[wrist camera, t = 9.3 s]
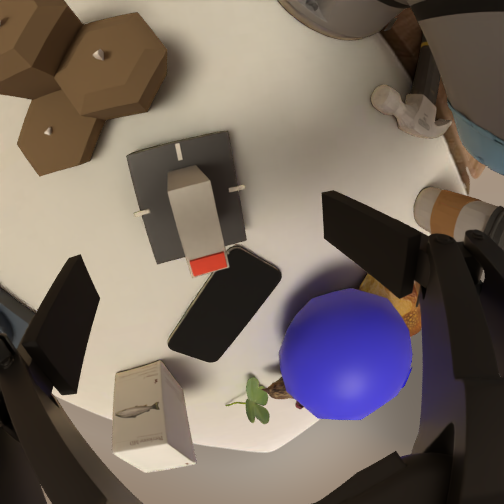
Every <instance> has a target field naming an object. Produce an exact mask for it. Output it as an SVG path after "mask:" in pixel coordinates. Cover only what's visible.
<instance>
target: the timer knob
mask: <svg viewBox="0 0 504 504" xmlns="http://www.w3.org/2000/svg"><path fill="white" fill-rule="evenodd" d="M168 196H169V200H170V203H171V207H172V211H173V215H174V218H175V222H176V226H177V229H178V233H179V236H180V240H181V243H182V247H183V250H184V253H185V257H186V260H187V263H188V267H189V270H190V273H191V276H192V278H194V277H197V276H201V275H204V274H208V273H211V272H215V271H218V270H222V269H225V268H229V263H228V258H227V254H226V250H225V245H224V241H223V237H222V232H221V228H220V223H219V219H218V214H217V209H216V205H215V200H214V195H213V191H212V186H211V181H210V180H209V179H208V178H207V176H206V175H205V174H204V173H203V172H202V171H201V170H200V169H199V168H198V167H197V165H193V166H189V167H185V168H182V169H178V170H174V171H170V172H168Z"/></svg>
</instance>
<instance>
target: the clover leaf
mask: <svg viewBox="0 0 504 504" xmlns="http://www.w3.org/2000/svg"><path fill="white" fill-rule="evenodd" d="M258 385H259V382H258V380H257V379H255V377H253V378H250V379H249V380H248V382H247V386H246V392H247V396H248V398H249V399H247V400H246V403H242V402H234V403H232V404H228V405H225V406H230V405H233V404H236V403H240V404H246V413H247V416H248V419H249V421H250V422H251V423H254V420H255V417H256V418H257V419H258V420H260V421H261V422H262V423H263V424H267V423H268V422H269V413H268V411H267V410H266V408H264V407H262V406H260V405H266V404H267V401H268V395H267V392H265V391H263V390H261V389H263V388H264V387H263V386H259V387H258ZM258 404H260V405H258Z"/></svg>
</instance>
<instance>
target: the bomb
mask: <svg viewBox="0 0 504 504" xmlns="http://www.w3.org/2000/svg"><path fill="white" fill-rule="evenodd" d="M279 360H280V370H281V374H282V377H283V381H284V384H285V388H286V391H287V392H288V393H289V394H290V395H291V396H292V397H293V398H294V399H296V400H297V401H298V402H299V403H300V404H301V405H303V406H304V407H305V408H306V409H307V410H308V411H310V412H311V413H312V414H313V415H314V416H316V417H317V418H320V419H335V420H336V419H337V420H361V419H363V418H364V417H366V416H368V415H369V414H371V413H372V412H374V411H375V410H376V409H378V408H380V407H381V406H383V405H384V404H385V403H387V402H388V401H390V400H391V399H392V398H394V397H395V396H397V395H398V393H399V391H400V389H401V388H403V387H404V386H405V384H406V382H407V379H408V377H409V374H410V372H411V369H412V368H411V369H410V366H411V362H412V347H411V340H410V333H409V330H408V328H407V326H406V324H405V322H404V320H403V318H402V317H401V315H400V314H399V312H398V311H397V310H396V309H395V307H394V306H393V305H392V303H391V302H390V301H389V300H388V298H384V297H381V296H378V295H375V294H371V293H368V292H364V291H360V290H356V289H352V288H348V289H344V290H340V291H335V292H331V293H328V294H324V295H321V296H318V297H315V298H312V299H311V300H310V301H309V302H308V303H307V304H306V305H305V306H304V307H303V308H302V309H301V310H300V311H299V312H298V313H297V314H296V315H295V317H294V319H293V320H292V322H291V324H290V325H289V327H288V329H287V331H286V334H285V337H284V339H283V342H282V345H281V348H280V351H279Z"/></svg>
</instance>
